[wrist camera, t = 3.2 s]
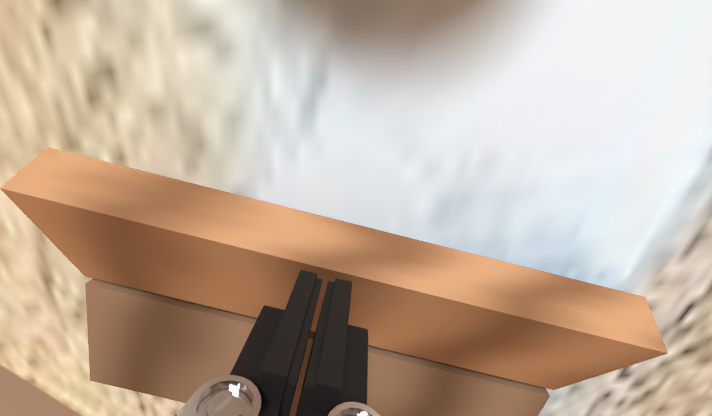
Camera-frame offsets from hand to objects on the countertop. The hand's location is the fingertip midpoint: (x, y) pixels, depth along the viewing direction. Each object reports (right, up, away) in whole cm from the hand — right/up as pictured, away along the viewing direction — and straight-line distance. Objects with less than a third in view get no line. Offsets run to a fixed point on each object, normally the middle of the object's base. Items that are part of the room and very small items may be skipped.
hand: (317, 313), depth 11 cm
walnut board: (-1, -5, +8) cm, 9 cm away
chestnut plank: (+1, +1, +4) cm, 4 cm away
